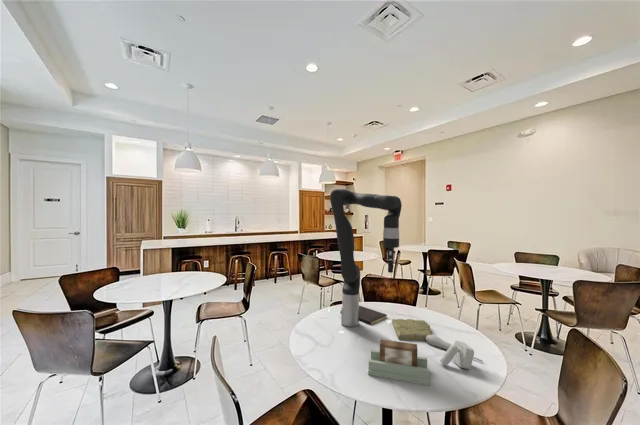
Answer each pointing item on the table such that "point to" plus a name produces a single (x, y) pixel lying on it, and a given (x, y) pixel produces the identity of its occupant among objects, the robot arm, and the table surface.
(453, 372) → the table surface
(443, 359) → the wall hook
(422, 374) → the pale green channel holder
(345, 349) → the table surface
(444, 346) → the screwdriver
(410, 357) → the wooden picture frame
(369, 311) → the hardcover book
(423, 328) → the decorative tile
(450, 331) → the table surface
